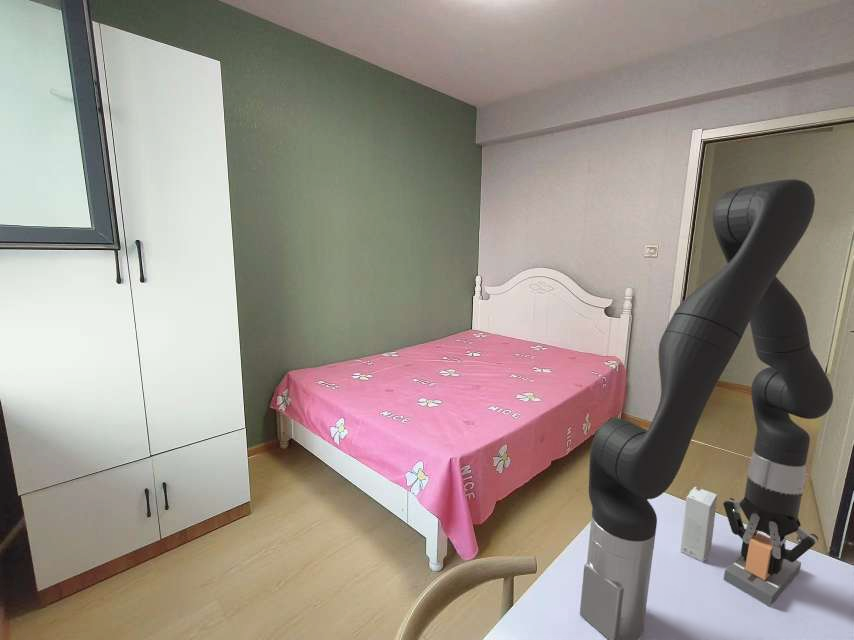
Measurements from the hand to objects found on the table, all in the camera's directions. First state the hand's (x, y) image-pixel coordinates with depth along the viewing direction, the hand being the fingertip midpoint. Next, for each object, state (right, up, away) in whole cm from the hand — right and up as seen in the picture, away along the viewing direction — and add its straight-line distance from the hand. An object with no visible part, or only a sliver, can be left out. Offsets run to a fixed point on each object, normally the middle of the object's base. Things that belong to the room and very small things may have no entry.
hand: (759, 566), depth 75 cm
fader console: (+2, -3, +2) cm, 4 cm away
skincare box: (-7, -2, +8) cm, 11 cm away
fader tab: (0, -1, 0) cm, 1 cm away
